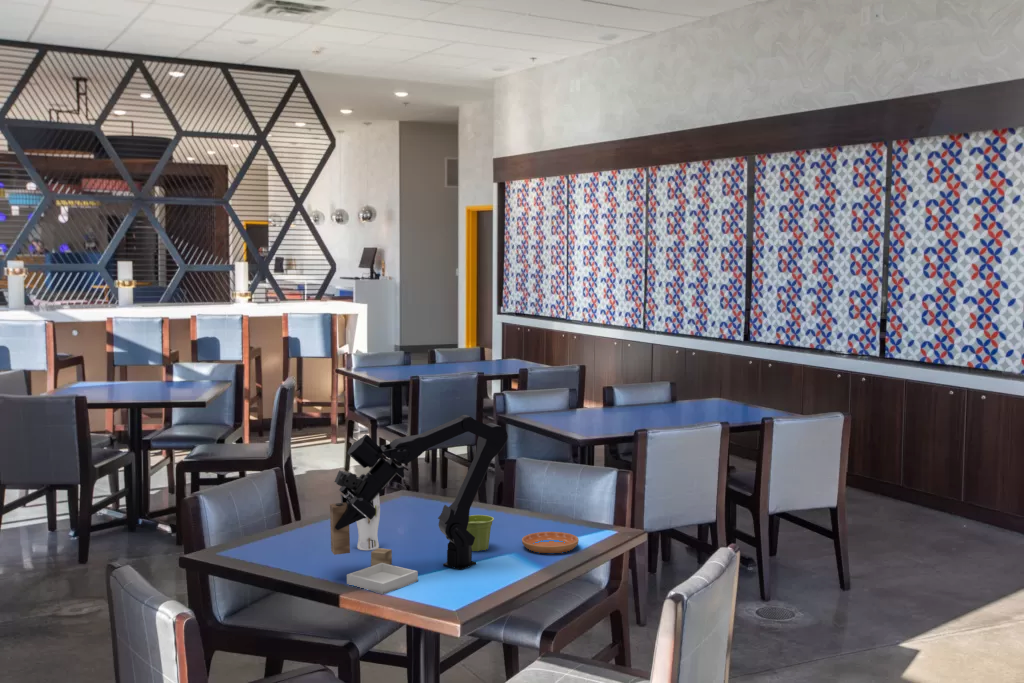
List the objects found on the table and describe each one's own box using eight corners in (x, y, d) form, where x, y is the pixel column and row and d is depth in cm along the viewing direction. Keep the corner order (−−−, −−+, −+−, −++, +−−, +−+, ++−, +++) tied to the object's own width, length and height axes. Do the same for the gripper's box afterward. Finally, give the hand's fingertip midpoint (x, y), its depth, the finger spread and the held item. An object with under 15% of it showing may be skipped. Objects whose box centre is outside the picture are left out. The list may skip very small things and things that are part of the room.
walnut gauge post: (346, 548, 244) (345, 501, 243) (350, 552, 240) (348, 504, 240) (331, 550, 243) (329, 502, 242) (334, 554, 239) (332, 506, 238)
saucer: (512, 552, 266) (512, 541, 266) (537, 538, 281) (537, 528, 280) (564, 559, 259) (564, 548, 259) (587, 545, 273) (587, 535, 273)
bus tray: (382, 572, 247) (381, 562, 247) (417, 581, 240) (417, 571, 239) (346, 584, 237) (346, 574, 237) (383, 594, 230) (382, 583, 229)
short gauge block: (378, 562, 256) (378, 548, 256) (391, 564, 255) (391, 549, 255) (371, 566, 253) (371, 551, 252) (384, 568, 251) (384, 553, 251)
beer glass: (380, 550, 268) (380, 497, 267) (355, 551, 267) (355, 498, 266) (380, 543, 275) (379, 492, 274) (355, 544, 273) (354, 493, 273)
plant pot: (454, 551, 267) (454, 520, 266) (470, 543, 275) (470, 513, 275) (484, 555, 263) (484, 524, 262) (499, 546, 271) (499, 516, 271)
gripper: (346, 453, 250) (305, 498, 247) (361, 465, 233) (317, 515, 230) (376, 480, 254) (336, 525, 250) (393, 494, 236) (350, 543, 233)
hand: (334, 526), depth 241 cm, fingers closed on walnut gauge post, 4 cm apart
